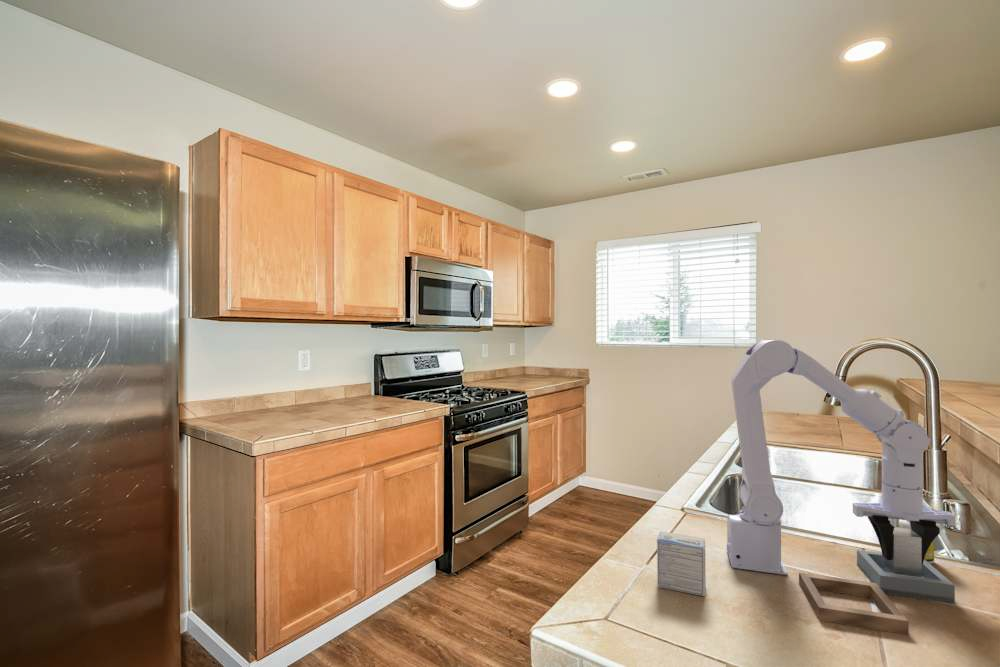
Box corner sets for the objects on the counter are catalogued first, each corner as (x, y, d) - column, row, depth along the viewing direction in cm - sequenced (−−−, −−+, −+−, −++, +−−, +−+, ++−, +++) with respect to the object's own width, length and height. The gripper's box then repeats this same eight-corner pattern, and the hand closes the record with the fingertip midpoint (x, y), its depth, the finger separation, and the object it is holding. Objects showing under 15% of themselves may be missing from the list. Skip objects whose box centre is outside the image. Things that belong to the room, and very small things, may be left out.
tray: (880, 592, 83) (880, 575, 83) (857, 565, 93) (856, 549, 93) (954, 603, 80) (954, 585, 80) (922, 573, 90) (922, 557, 90)
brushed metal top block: (893, 573, 85) (893, 534, 85) (884, 563, 89) (884, 526, 89) (921, 577, 84) (921, 537, 84) (910, 566, 88) (910, 528, 88)
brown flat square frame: (819, 619, 75) (818, 607, 75) (798, 583, 86) (798, 572, 86) (908, 634, 72) (908, 621, 72) (875, 594, 83) (875, 583, 83)
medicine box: (705, 585, 86) (705, 537, 86) (705, 598, 82) (704, 547, 82) (659, 576, 89) (659, 530, 89) (656, 587, 85) (656, 539, 85)
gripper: (863, 487, 85) (863, 563, 85) (965, 495, 80) (965, 576, 80) (848, 476, 92) (848, 546, 92) (942, 483, 87) (942, 557, 87)
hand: (902, 559), depth 86 cm, fingers closed on brushed metal top block, 4 cm apart
